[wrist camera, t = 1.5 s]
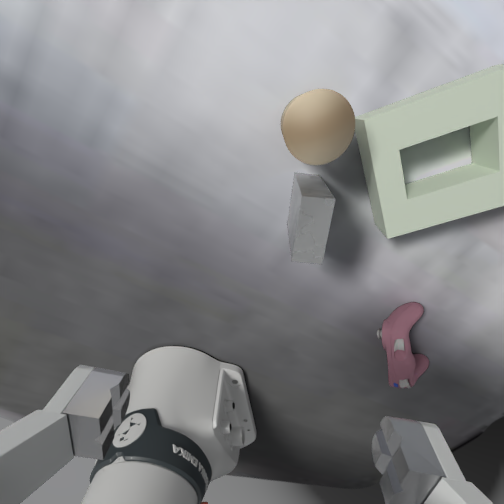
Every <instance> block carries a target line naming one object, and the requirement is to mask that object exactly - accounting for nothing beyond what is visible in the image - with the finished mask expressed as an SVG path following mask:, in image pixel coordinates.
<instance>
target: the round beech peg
mask: <svg viewBox="0 0 504 504" xmlns="http://www.w3.org/2000/svg"><path fill="white" fill-rule="evenodd" d="M281 130H282V134H283V137H284V140H285V143H286V146H287V148H288V150H289V151H290V152H291V154H292V155H293V156H294V157H295V158H297V159H298V160H299V161H301V162H303V163H306V164H309V165H323V164H327V163H329V162H332V161H334V160H335V159H337V158H338V157H340V156H341V155H342V154H343V153H344V152H345V151H346V149H347V148H348V146H349V145H350V143H351V141H352V138H353V136H354V131H355V116H354V112H353V109H352V107H351V105H350V104H349V102H348V101H347V100H346V98H344V97H343V96H342V95H341V94H339V93H337V92H335V91H333V90H329V89H316V90H312V91H309V92H307V93H304V94H302V95H299V96H297V97H295V98H294V99H293V100H291V101H290V102H289V104H288V105H287V106H286V108H285V110H284V112H283V114H282V118H281Z"/></svg>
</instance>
